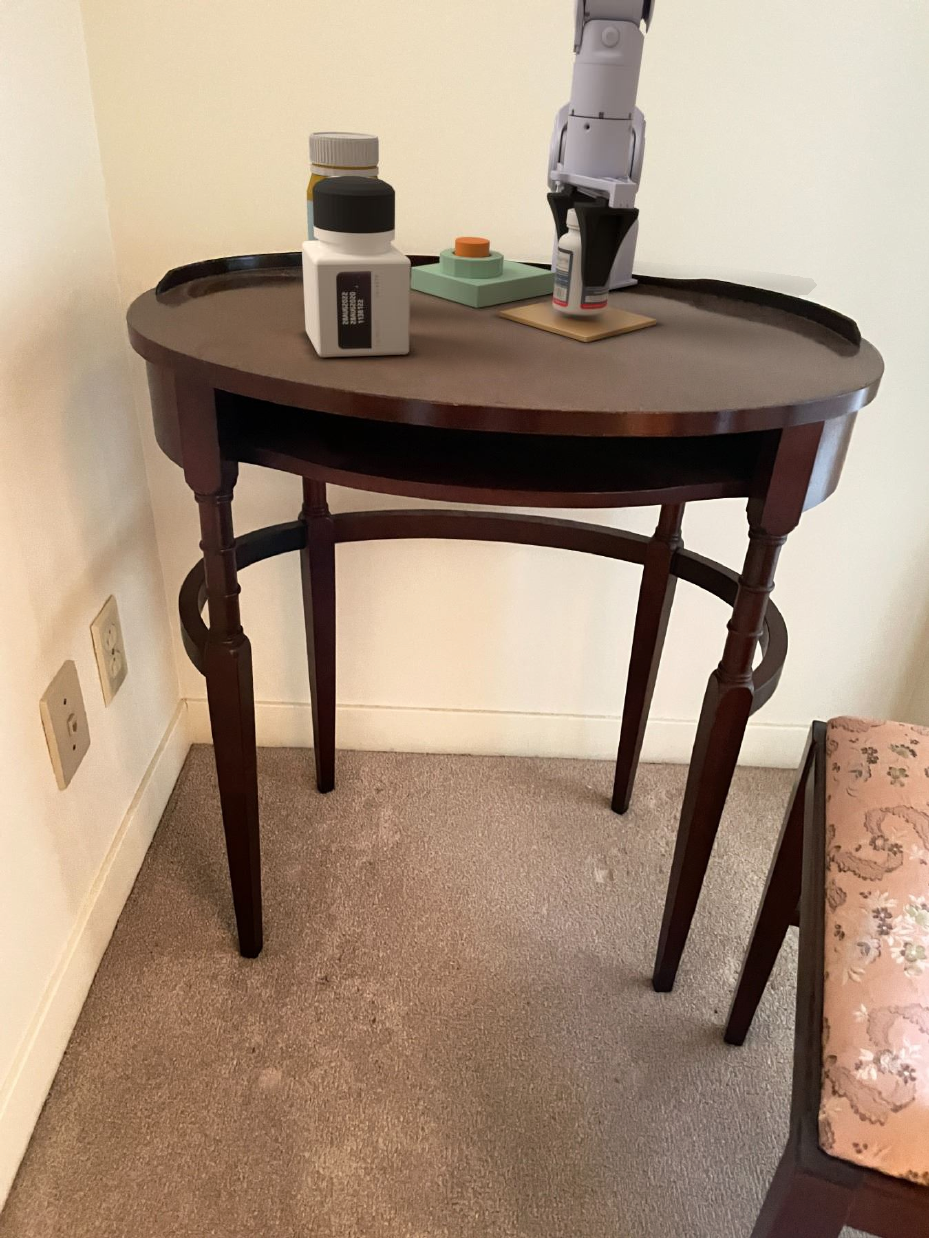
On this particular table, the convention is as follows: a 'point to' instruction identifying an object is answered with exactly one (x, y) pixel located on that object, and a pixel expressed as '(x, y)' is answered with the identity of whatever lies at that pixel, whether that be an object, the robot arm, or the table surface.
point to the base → (481, 279)
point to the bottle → (339, 161)
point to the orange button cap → (472, 247)
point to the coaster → (577, 321)
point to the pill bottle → (575, 277)
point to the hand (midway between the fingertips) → (582, 279)
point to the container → (355, 271)
